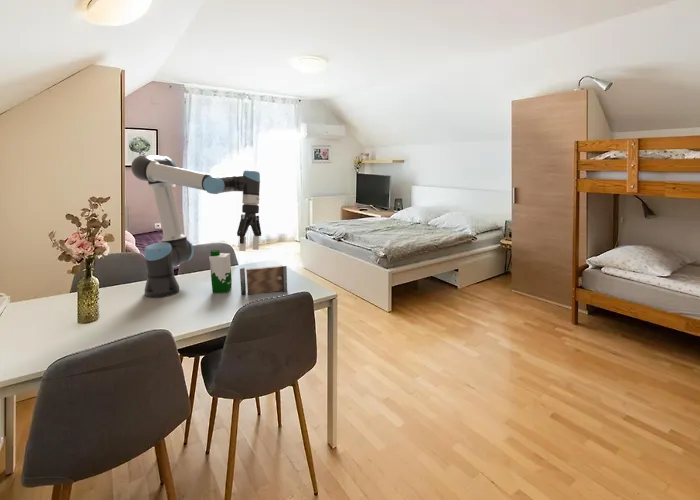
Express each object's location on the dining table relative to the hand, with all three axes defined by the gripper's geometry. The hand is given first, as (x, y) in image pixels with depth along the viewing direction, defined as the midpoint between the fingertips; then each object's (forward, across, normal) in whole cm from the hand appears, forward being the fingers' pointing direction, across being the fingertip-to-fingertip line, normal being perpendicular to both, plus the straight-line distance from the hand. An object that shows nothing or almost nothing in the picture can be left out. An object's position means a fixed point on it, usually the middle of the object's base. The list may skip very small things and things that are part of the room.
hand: (249, 250), depth 186 cm
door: (+20, +6, -7) cm, 22 cm away
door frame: (+20, +6, -6) cm, 22 cm away
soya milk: (+21, +5, +16) cm, 27 cm away
